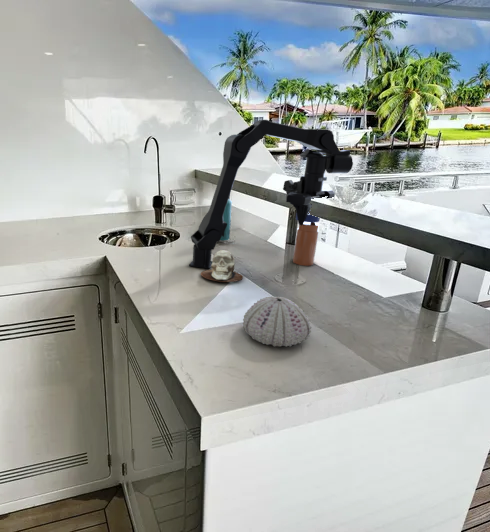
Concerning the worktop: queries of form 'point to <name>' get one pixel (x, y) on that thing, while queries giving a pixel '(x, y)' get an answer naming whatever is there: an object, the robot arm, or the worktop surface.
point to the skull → (222, 268)
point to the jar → (306, 243)
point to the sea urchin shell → (276, 322)
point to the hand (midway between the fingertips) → (306, 223)
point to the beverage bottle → (227, 220)
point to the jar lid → (310, 218)
